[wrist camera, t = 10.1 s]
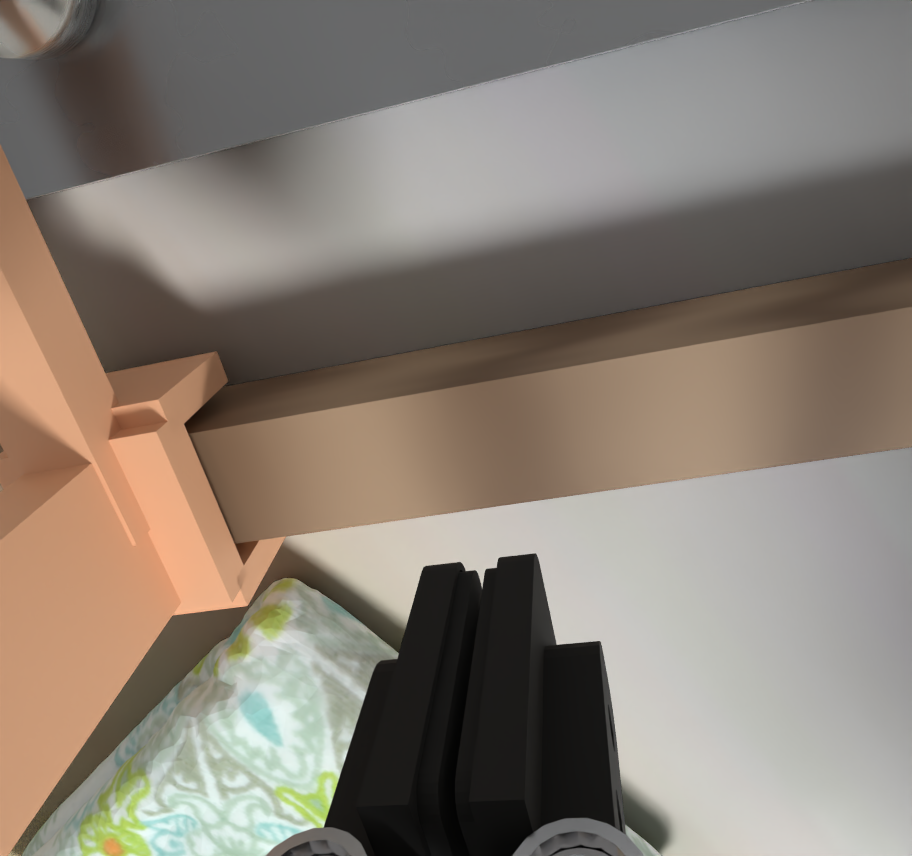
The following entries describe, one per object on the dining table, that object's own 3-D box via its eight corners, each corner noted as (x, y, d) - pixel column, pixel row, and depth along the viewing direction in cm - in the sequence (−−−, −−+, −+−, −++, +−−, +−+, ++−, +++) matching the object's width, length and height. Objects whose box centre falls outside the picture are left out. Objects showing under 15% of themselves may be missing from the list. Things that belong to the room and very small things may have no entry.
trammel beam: (1306, -482, 11) (1882, -907, 6) (1148, 363, 16) (1388, 469, 12) (-194, 14, 16) (-487, -17, 11) (77, 528, 21) (-46, 646, 17)
